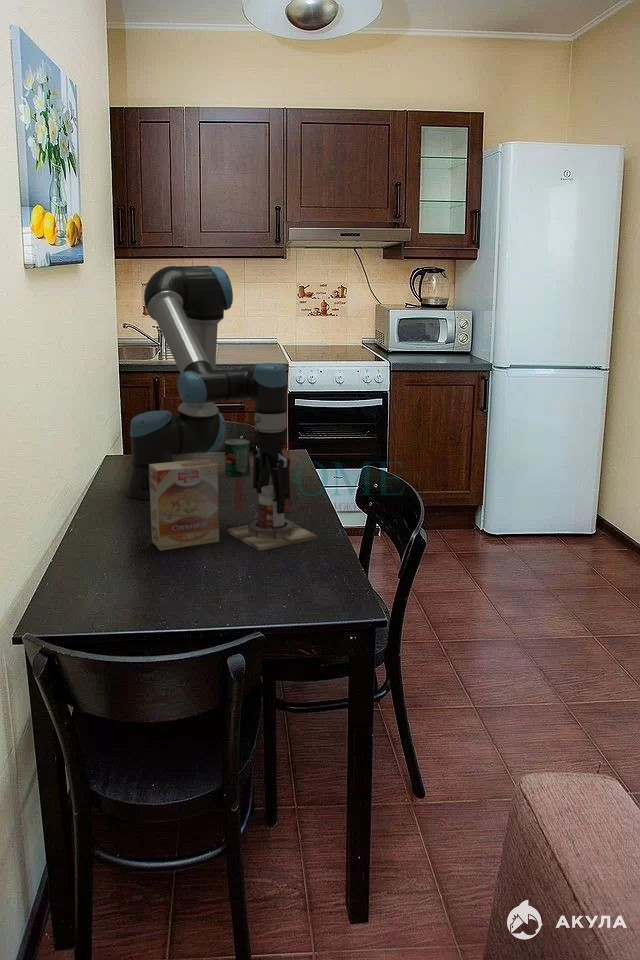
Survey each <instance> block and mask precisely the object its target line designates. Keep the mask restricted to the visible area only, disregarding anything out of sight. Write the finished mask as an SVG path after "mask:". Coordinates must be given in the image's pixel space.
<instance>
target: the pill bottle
mask: <svg viewBox="0 0 640 960" xmlns="http://www.w3.org/2000/svg"><path fill="white" fill-rule="evenodd" d="M261 493H262V494H263V495H262V496H261V497H260V498H259V497H258V508H257V509H258V512H257V513H258V517H257V518H258V527H259V528H261V529H279V528H284V525H282V526H277V527H274V526H273V500H272V499H275V496H274V490H273V484H272V485H268V486H263V487H262V488H261Z"/></svg>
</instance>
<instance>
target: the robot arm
mask: <svg viewBox="0 0 640 960" xmlns="http://www.w3.org/2000/svg"><path fill="white" fill-rule="evenodd" d="M233 298H234V293H233V287H232V282H231V280H230V277H229V274H228V273H227V272H226V270H225V269H224V268H222V267H220V266H212V265H186V266H185V265H184V266H183V265H180V266H177V265H169V266H165V267H163V268H161V269H159V270H157V271H156V272H154V274H152V276H151V277H149V280H148V281H147V283H146V285H145V288H144V293H143V303H144V307H145V309H146V312H147V313H148V316H149V317H150V318H151V319H152V320H154V321H155V322H156V324H157V325H158V328H159V330H160V332H161V334H162V336H163V338H164V340H165V343H166V345H167V347H168V349H169V351H170V353H171V355H172V358H173V360H174V362H175V364H176V366H177V368H178V370H179V373H180V374H179V375H178V378H177V382H176V383H177V384H176V385H177V391H178V396H179V398H180V400H181V401H182V403H180V405H178V407H177V414H175V415H174V414H172V412H171V411H169V410H165V409H164V410H161V409H160V410H151V411H146V412H143V413H140V414H137V415H136V416H134V417H132V419H131V420H130V428H129V429H130V430H129V431H130V432H129V436H130V448H131V449H130V450H131V462H132V463H131V465H132V466H131V467H132V468H131V472H130V474H129V475H130V476H129V479H128V483H127V487H126V488H127V489H126V490H127V496H128V497H130V498H133V499H136V500H147V501H150V479H149V464H157V463H167V462H174V456H183V455H194V454H206V453H209V452H215V451H216V450H219V448H221V447H222V445H223V443H224V441H225V440H224V439H225V434H226V424H225V418H224V416H223V414H222V413H221V412H220V411H219V408H218V406H216V404H215V403H216V402H225V401H226V402H228V401H229V402H231V401H241V400H252V401H254V418H253V420H254V428H255V429H256V430H255V431H254V441H255V442H254V444H255V446H256V447H258V448H257V449H252V457H253V471H252V473H253V474H252V487H253V489H256V492H257V493H258V499H259V498H260V497H261V496H262V495H263V494H262V493H261V488H262V487H263V486H270V485H269V483H270V478H271V483H272V486H273V490H274V496H275V499H272V500H273V526H274V527H277V526H282V525H284V518H285V502H286V500H289V499H291V491H290V490H291V489H290V488H291V486H290V485H291V484H290V483H291V482H290V464H291V460H290V458H288V457H287V458H285V457H284V453H283V447H285V446H286V445H287V431H286V429H287V424H288V423H287V419H288V418H287V384H288V378H287V371H286V370H287V369H286V366H285V365H284V364H281V363H273V362H271V363H270V362H268V363H267V362H265V363H258V364H256V365H255V366H250V365H249V366H246V365H244V366H241V367H239V368H232V369H231V368H229V369H228V368H227V369H216V366H217V365H216V362H217V347H218V345H217V344H218V342H217V341H218V328H219V326H218V325H219V323H220V322H221V321H222V320H224V317H225V315H224V314H225V311H228V310H230V309H231V307H232V305H233V301H234V299H233Z"/></svg>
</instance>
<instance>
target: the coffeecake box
mask: <svg viewBox="0 0 640 960" xmlns="http://www.w3.org/2000/svg"><path fill="white" fill-rule="evenodd" d="M218 466H219V464H218V463H217V462H216V461H213V460H211V459H210V458H198V459H188V460H180V461H179V460H178V461H177V460H176V461H173V462H167V463H157V464H149V479H150V500H149V501H150V505H149V506H150V520H151V521H150V523H151V525H150V526H151V527H150V528H151V529H150V530H151V543H152V544H153V545H154V546H155V547H156V548H157V549H158V550H159V551H168V550H173V549H180V548H186V547H193V546H199V545H205V544H206V545H207V544H213V543H219V542H220V518H219V515H220V514H219V513H220V512H219V467H218Z"/></svg>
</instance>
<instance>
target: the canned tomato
mask: <svg viewBox="0 0 640 960" xmlns="http://www.w3.org/2000/svg"><path fill="white" fill-rule="evenodd" d="M223 443H224V444H223V445H224V472H225V473H224V475H225V476H224V477H226V478H227V479H231V480H242V479H247V478H249V477H251V451H250V450H251V449H250V447H251V446H250V440H248V439H244V438H232V439H226V440H223Z"/></svg>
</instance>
